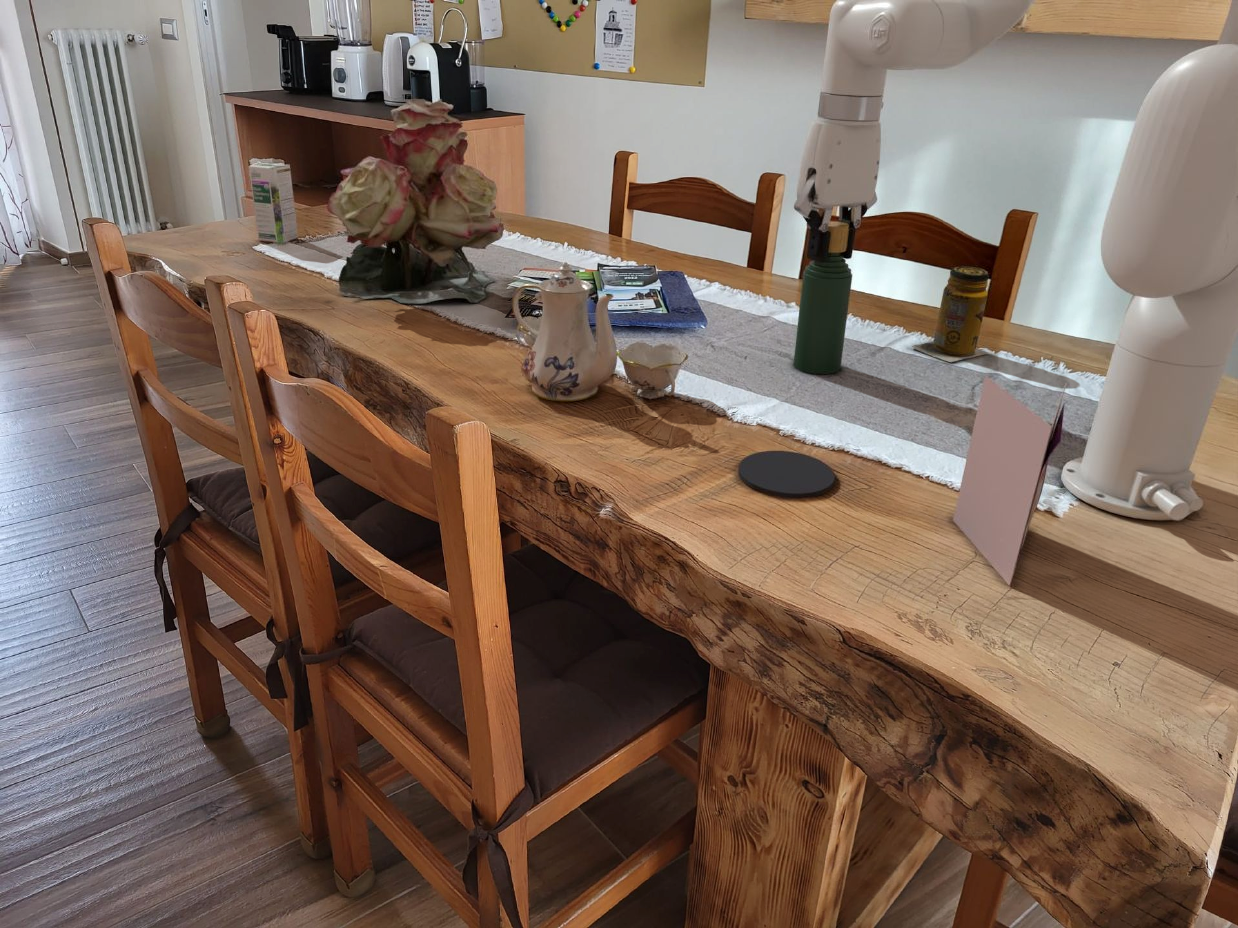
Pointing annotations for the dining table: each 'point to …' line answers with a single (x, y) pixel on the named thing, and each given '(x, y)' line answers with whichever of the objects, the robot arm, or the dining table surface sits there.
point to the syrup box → (273, 202)
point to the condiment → (959, 316)
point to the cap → (838, 236)
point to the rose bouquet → (417, 213)
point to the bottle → (823, 315)
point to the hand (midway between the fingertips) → (829, 257)
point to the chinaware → (585, 346)
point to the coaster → (786, 474)
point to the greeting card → (1004, 475)
